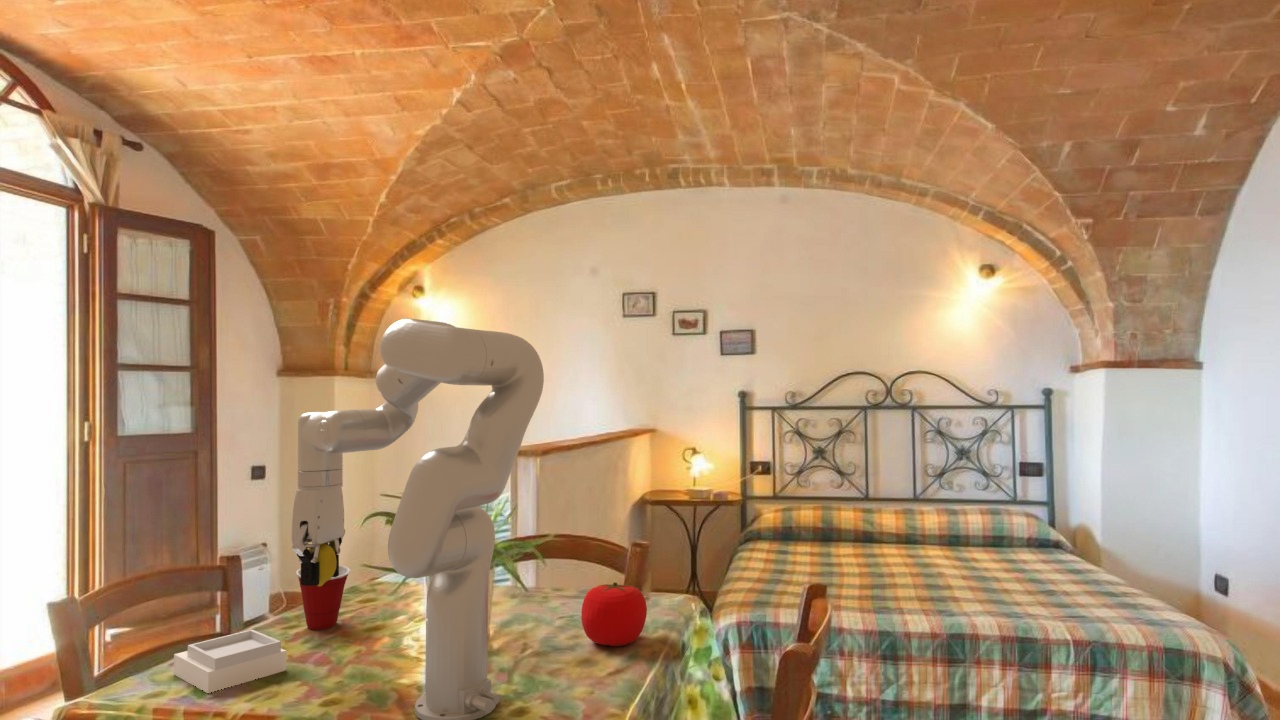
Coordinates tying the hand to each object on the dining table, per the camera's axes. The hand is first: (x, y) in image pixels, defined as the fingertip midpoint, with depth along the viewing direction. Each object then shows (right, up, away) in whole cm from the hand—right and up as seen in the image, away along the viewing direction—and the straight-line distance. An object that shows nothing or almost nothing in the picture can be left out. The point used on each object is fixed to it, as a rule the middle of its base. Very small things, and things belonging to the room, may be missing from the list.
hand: (320, 579), depth 133 cm
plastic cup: (-10, -17, +25) cm, 32 cm away
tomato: (+52, -17, +14) cm, 57 cm away
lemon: (0, -1, 0) cm, 1 cm away
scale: (-15, -16, -2) cm, 22 cm away
